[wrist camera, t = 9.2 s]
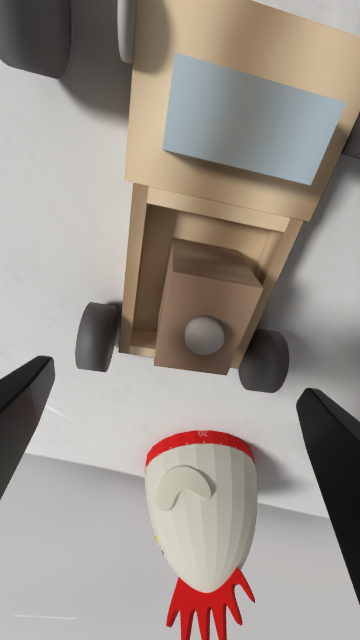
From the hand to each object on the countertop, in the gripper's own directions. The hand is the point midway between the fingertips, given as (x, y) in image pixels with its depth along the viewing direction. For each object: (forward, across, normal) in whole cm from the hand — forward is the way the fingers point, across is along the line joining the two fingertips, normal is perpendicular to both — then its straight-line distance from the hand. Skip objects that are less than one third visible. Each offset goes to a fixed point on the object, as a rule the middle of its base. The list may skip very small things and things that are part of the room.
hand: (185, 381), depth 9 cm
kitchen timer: (+11, -8, +26) cm, 29 cm away
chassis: (+11, -1, -2) cm, 11 cm away
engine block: (+11, -1, +1) cm, 11 cm away
